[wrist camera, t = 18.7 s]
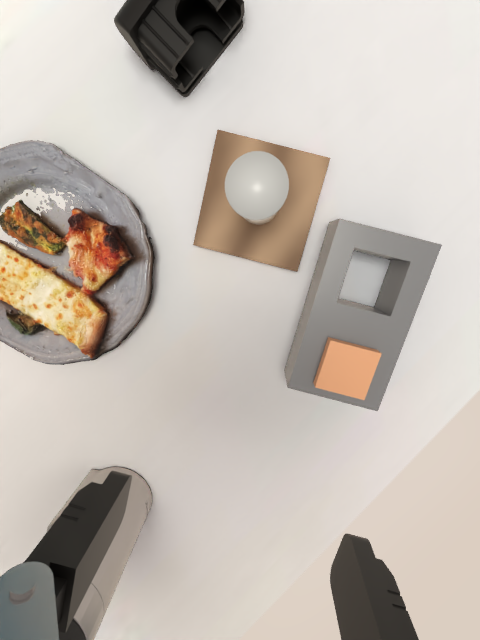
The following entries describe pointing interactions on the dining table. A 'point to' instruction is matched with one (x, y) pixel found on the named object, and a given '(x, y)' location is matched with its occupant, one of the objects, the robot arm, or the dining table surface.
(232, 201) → the cylinder
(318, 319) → the grey hollow block
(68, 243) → the food plate
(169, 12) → the end cap
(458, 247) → the dining table surface
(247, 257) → the walnut board
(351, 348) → the orange cube
